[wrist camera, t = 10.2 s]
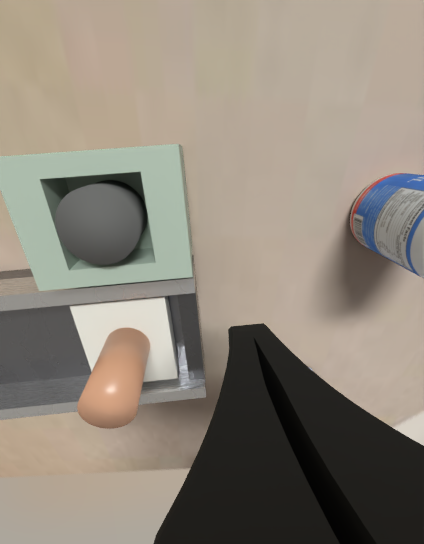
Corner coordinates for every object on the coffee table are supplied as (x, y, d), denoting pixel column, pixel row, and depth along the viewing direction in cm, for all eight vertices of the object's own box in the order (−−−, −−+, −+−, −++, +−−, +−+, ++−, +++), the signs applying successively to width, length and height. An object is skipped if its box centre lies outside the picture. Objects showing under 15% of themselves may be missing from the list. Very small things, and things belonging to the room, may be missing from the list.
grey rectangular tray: (203, 359, 24) (206, 397, 20) (-52, 386, 23) (-98, 430, 19) (193, 254, 19) (193, 278, 16) (-121, 282, 19) (-196, 314, 15)
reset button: (152, 242, 16) (144, 261, 13) (90, 247, 15) (68, 268, 13) (141, 177, 14) (129, 183, 11) (72, 182, 14) (43, 190, 11)
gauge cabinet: (192, 244, 19) (192, 277, 14) (79, 254, 19) (39, 291, 14) (182, 146, 16) (178, 144, 11) (50, 155, 16) (-13, 157, 11)
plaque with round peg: (178, 363, 21) (173, 444, 15) (102, 371, 21) (68, 457, 15) (166, 286, 18) (154, 350, 12) (78, 294, 18) (24, 363, 12)
